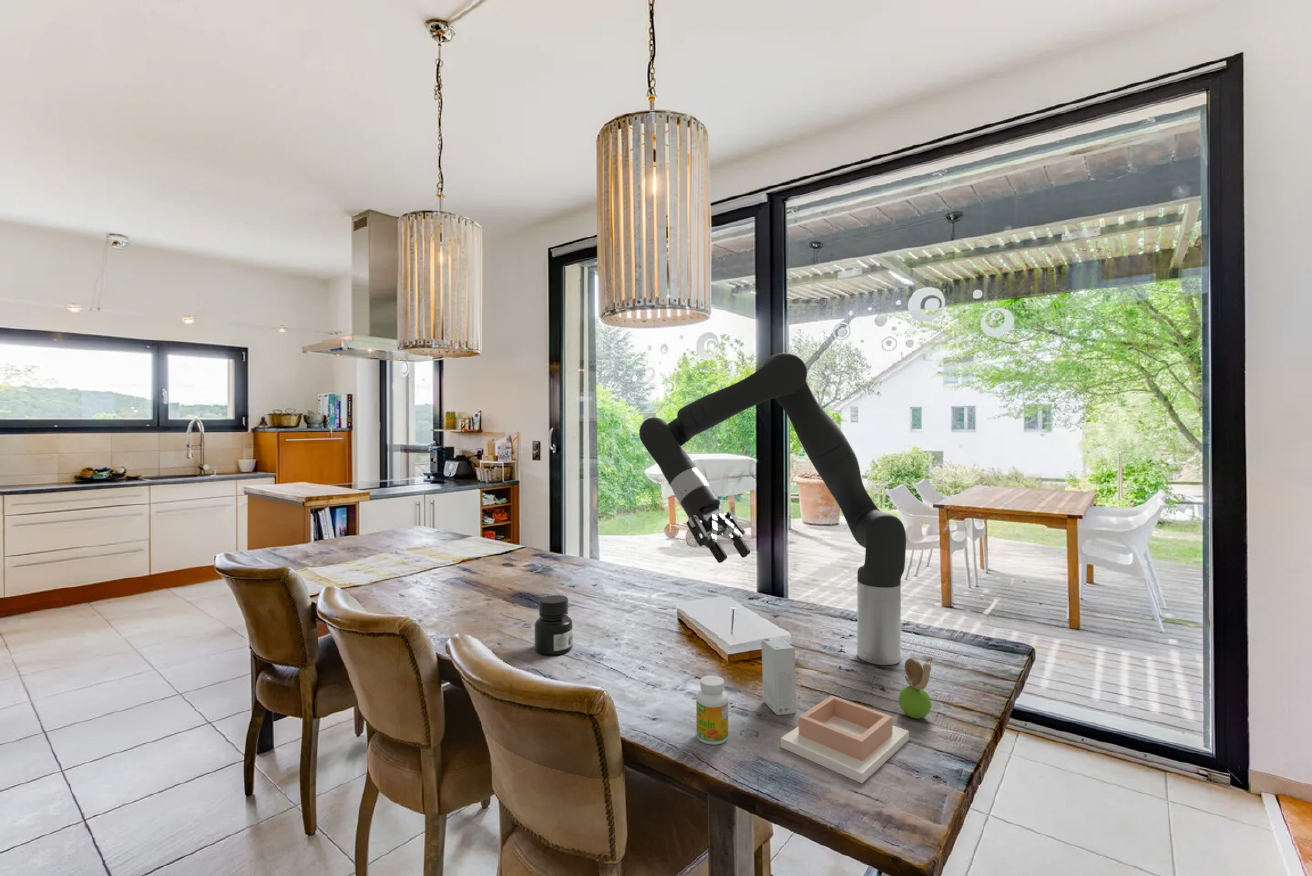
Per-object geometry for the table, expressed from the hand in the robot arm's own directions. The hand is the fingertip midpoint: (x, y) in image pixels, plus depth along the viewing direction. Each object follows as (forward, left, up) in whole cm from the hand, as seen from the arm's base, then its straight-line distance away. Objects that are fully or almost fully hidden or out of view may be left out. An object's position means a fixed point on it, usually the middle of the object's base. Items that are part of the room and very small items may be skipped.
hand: (735, 558), depth 119 cm
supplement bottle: (+19, +9, -26) cm, 34 cm away
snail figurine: (-12, +31, -26) cm, 43 cm away
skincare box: (+2, +11, -26) cm, 29 cm away
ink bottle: (+15, -43, -26) cm, 52 cm away
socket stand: (+5, +26, -26) cm, 37 cm away
